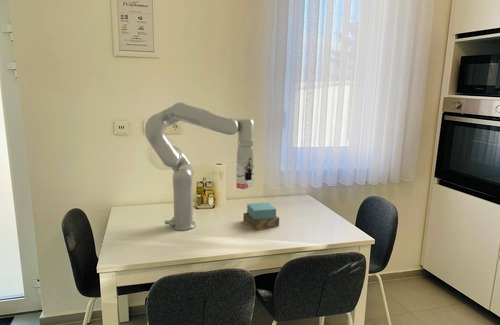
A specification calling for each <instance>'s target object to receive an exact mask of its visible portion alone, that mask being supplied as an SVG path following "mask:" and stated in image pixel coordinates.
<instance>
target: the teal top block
mask: <svg viewBox="0 0 500 325" xmlns="http://www.w3.org/2000/svg"><path fill="white" fill-rule="evenodd" d="M246 206H247V207H246V213H248V214H249V215H250V216H251V217H252V218H253V219H254V220H261V219H272V218H276V216H277V208H276V207H275V206H273V205H272V204H271V203H270V202H265V201H264V202H256V203H255V202H253V203H252V202H251V203H247V205H246Z"/></svg>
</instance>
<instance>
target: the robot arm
mask: <svg viewBox="0 0 500 325" xmlns="http://www.w3.org/2000/svg"><path fill="white" fill-rule="evenodd" d="M179 122H182V123H186V124H190V125H194V126H198V127H200V128H202V129H207V130H210V131H214V132H217V133H221V134H223V135H224V134H225V135H227V136H233V135H236V133H237V136H238V137H237V152H236V165H241V166H243V167H246V175H245V180H251V179H252V170H253V167H255V165H254V148H253V147H254V120H253V119H251V118H234V117H229V118H226V117H223V116H220V115H217V114H215V113H212V112H210V111H208V110H206V109H204V108H199V107H196V106H193V105H189V104H186V103H184V102H183V101H181V102H176V103H174V104H172V106H170V107H168V108H165V109H163V110H162V111H159V112H158V113H154V114H152V115H151V116H150V117H149V118H148V119H147V121H146V124H145V126H144V135H145V137H146V140H147V141H148V143H149V144H150V146H151V147H152V149H153V150H154V152H155V153H156V154H157V156H158V157H159V159H160V161H161V162H162V163H163V165H165V166H166V167H168V168H171V169H172V171H173V173H172V186H173V188H172V189H173V217H172V218H171V219H170V220H165V221H164V225H166V226H167V225H168V226H170V227H171V228H172V229H173V230H176V231H189V230H192V229H194V228H195V227H196V226H197V223H196V222H195V221H194V217H193V211H194V209H193V208H194V206H193V203H194V201H193V200H194V199H193V197H194V196H193V177H194V173H195V170H194V167H193V166H192V164H191V162H190V161H189V160H188V159H187V157H186V155H185V154H184V152H183V150H181V148H179V147H177V146H176V145H172V143H171V142H170V140H169V138H168V137H167V135H165V132H164V130H166V129H167V128H169V127H170V126H172V125H174V124H176V123H179ZM247 165H249V166H247ZM248 168H249V169H248Z"/></svg>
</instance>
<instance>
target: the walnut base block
mask: <svg viewBox="0 0 500 325" xmlns="http://www.w3.org/2000/svg"><path fill="white" fill-rule="evenodd" d="M242 222H244V223H245V224H246V225H248V226H249V227H251V228H253V229H254V230H255V231H258V230H264V229H270V228H274V227H275V228H276V227H279V226H280V217H279V216H277V215H276V218H272V219H261V220H254V219H253V218H252V217H251V216H250V215H249V214H248V213H247V212H243V221H242Z"/></svg>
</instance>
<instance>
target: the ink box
mask: <svg viewBox="0 0 500 325" xmlns="http://www.w3.org/2000/svg"><path fill="white" fill-rule="evenodd" d="M247 166H249V165H247ZM254 167H255V166H254ZM254 167H253V170H252V179H251V180H245V175H246V167H243V166H241V165H238V164H236V188H237V189H240V190H246V189H249V188H252V187H254V177H255V176H254V173H255V171H254ZM248 169H249V168H248Z"/></svg>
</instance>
